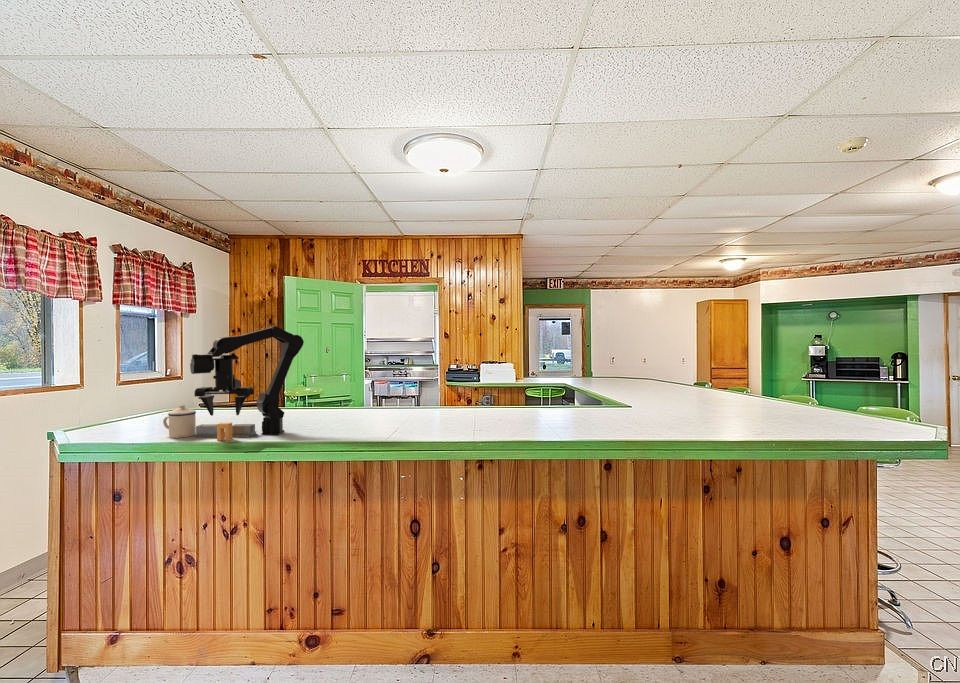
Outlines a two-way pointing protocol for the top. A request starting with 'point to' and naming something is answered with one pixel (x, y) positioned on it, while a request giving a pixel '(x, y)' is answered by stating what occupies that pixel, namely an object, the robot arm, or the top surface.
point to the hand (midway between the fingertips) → (224, 415)
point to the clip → (224, 431)
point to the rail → (237, 430)
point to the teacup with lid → (181, 422)
